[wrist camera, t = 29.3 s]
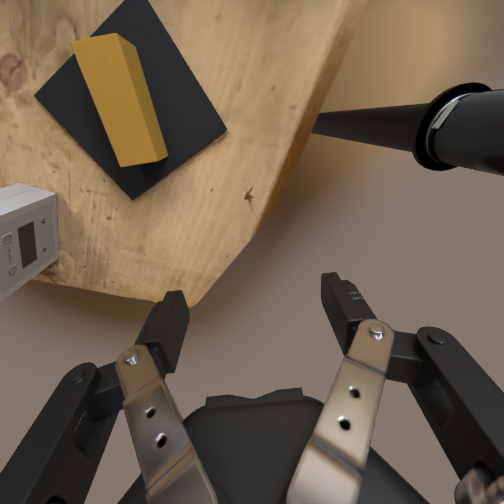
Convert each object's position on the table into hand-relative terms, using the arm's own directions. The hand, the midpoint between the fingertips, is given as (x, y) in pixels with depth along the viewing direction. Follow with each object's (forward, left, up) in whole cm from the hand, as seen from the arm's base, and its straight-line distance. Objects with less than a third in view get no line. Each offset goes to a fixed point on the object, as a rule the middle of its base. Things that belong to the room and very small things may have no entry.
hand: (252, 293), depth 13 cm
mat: (+7, -16, -26) cm, 31 cm away
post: (+9, -10, -23) cm, 27 cm away
